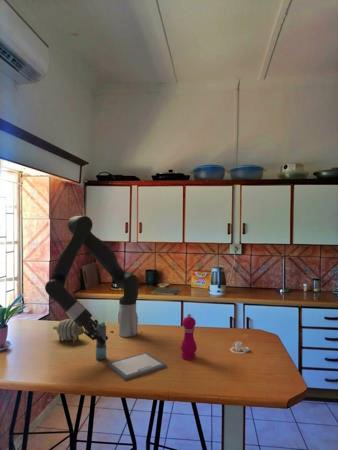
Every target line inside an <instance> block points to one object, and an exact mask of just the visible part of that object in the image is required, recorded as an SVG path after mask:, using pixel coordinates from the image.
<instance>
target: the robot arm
mask: <svg viewBox="0 0 338 450" xmlns="http://www.w3.org/2000/svg"><path fill="white" fill-rule="evenodd" d="M67 228H68V231H69V232H70V233H71V234H72V237H71V238H70V240H69V242H68V244H66V246H65V248H64V249H63V250H62V251H61V253H60V255H59V256H58V258H57V260H56V263H55V265H54V267H53V271H52V272H53V273H52V275H51V278H50V279H49V280H48V281H47V282H46V283H45V286H44V291H45V293H46V294H47V295H48V296H49V297H50V298H52V300H54V301H55V302H56V303H57V304H58V305H59V306H60V308H61V309H62V310H63V311H64V312H65V313H66V314H67V315H68V317H69V319H72V320H73V321H74V322H75V323H76V324H77V326H78V327H83V329H84V333H83V334H84V335H86V336H87V337H88V338H89V339H91V340H92V341H96V340H97V341H98V342H99V343H100V344H101V345H104V344H105V342H106V343H107V341H108V339H109V336H107V335H106V341H105V340H104V339H103V338H102V337H101V336H100V335H99V334H98V332H97V331H98V330H97V329H96V327H97V326H98V322H99V320H98V319H95V320H93V319H92V317H93V313H91V312H90V311H89V310H88V309H87V308H86V307H85V306H84V305H83V304H82V303H81V302H79V300H78V299H77V298H76V297H75V296H74V295H73V294H72V293H70V292H69V291H68V290H67V288H65V284H66V281H67V278H68V275H69V274H70V272H71V269H72V267H73V263H74V262H75V259H76V258H77V255H78V253H79V252H80V249H81V248H82V246H83V245H84V247H85V248H86V249H87V250H88V252H89V253H90V254H91V255H92V257H93V258H94V259H95V260H96V261H97V262H98V264H100V266H101V267H102V268H103V269H104V270H105V271H106V272H107V274H108V275H110V277H111V278H112V280H113V282H114V283H115V284H116V286H117V287H118V288H119V289H120V290H122V291H123V296H121V297H119V302H118V303H119V305H118V307H119V308H118V309H119V310H118V314H119V315H118V316H119V318H118V336H119V337H121V338H131V337H135V336H136V335H138V333H139V332H138V331H139V330H138V327H139V326H138V323H139V321H138V319H139V317H138V316H137V299H138V298H139V283H140V282H139V278H138V276H137V275H136V274H133V273H128V272H126V271H125V270H124V269H123V268H122V267H121V265H119V262H118V258H117V255H116V254H115V252H114V251H113V249H111V247H110V246H109V245H108V244H107V243H105V242H104V241H103V240H102V239H100V238H99V237H97V236H96V235H94V233H92V230H93V220H92V219H91V218H90V217H89V216H87V215H76V216H72V217H70V218H69V220H68V222H67Z"/></svg>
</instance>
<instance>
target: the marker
mask: <svg viewBox="0 0 338 450" xmlns="http://www.w3.org/2000/svg"><path fill="white" fill-rule="evenodd" d="M96 329H97V330H98V331H97V332H98V334H99V335H100V336H101V337H102V338H103V339H104V340H105V341H106V342H105V344H104V345H101V344H100V343H99V342H98V341H97V340H95V341H96V346H95V358H96V360H105V359H107V340H106V336H107V325H106V323H105V321H98V326H97V327H96Z"/></svg>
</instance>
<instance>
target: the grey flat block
mask: <svg viewBox="0 0 338 450" xmlns="http://www.w3.org/2000/svg"><path fill="white" fill-rule="evenodd" d="M106 366H107V367H108V368H109V369H111V370H112V371H113V372H114V373H115V374H117V375H118V376H119V377H121V379H123V380H124V381H125V382H126V381H128V380H131V379H134V378H138V377H141V376H143V375H144V376H145V375H147V374H150V373H153V372H156V371H159V370H162V369H165V368H168V367H167V366H168V365H167V364H166V363H165V362H163V361H161V360H159V359H158V358H157V357H154V356H153V355H151V354H150V353H149V352H147V351H145V352H143V353H138V354H134V355H131V356H128V357H125V358H120V359H117V360H113V361H109V362H107V363H106Z"/></svg>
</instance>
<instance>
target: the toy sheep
mask: <svg viewBox="0 0 338 450" xmlns="http://www.w3.org/2000/svg"><path fill="white" fill-rule="evenodd" d="M52 329H53V330H56V333H57V335H58V341H59V342H60V343H61V342H62V340H65V341H70V340H71V341H72V343H73V344H75V343H76V341H79V338H80V337H79V336H81V335H83V334H84V331H85V329H84V327H83V326H82V327H78V326H77V324H76V323H75V322H74V321H73V320H72V319H71V318H67V319H62V320H60V321H59V323H58V324H57V326H53V327H52Z"/></svg>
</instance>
